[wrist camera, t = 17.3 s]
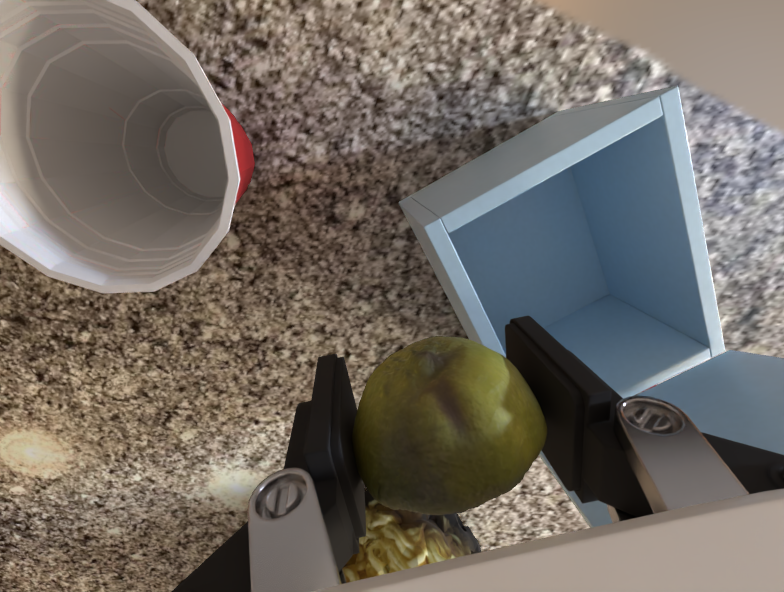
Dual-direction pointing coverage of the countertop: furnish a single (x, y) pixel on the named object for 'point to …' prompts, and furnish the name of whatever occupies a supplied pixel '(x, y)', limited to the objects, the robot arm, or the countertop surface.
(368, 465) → the lime
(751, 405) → the box lid
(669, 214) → the open box
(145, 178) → the plastic cup
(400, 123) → the countertop surface
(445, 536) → the ramen
